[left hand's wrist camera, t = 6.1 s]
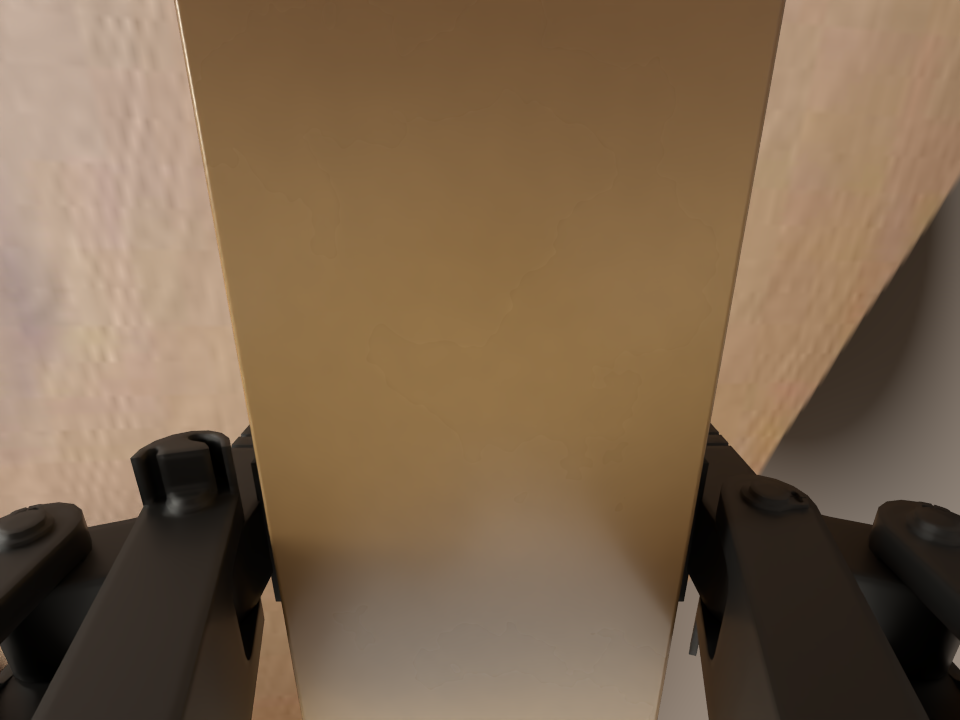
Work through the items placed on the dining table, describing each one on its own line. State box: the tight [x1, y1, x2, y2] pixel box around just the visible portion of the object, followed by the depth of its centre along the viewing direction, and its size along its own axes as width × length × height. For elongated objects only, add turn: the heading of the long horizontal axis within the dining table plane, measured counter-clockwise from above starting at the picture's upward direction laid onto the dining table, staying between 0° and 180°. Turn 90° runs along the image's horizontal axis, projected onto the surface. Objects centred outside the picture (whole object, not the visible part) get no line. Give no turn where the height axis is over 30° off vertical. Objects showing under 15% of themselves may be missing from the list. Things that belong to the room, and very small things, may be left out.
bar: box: [174, 0, 786, 720], centre depth 8 cm, size 22×5×8 cm, turn 0°
